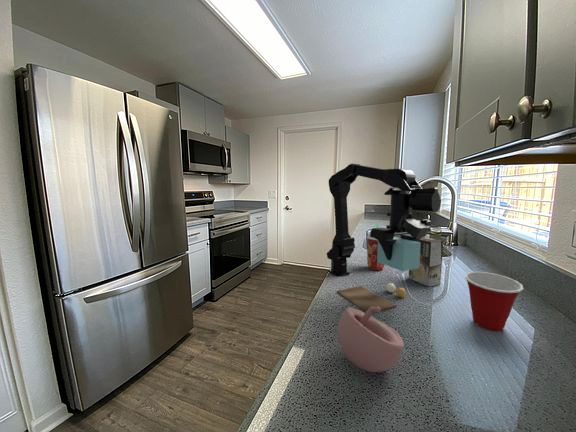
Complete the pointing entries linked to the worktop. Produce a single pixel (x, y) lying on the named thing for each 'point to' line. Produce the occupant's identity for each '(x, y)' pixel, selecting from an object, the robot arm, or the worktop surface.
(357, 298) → the walnut board
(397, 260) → the light blue block
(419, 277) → the coffee box
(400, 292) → the amber egg
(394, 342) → the mortar and pestle
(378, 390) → the worktop surface
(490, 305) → the plastic cup
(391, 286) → the white egg
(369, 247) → the smoothie
